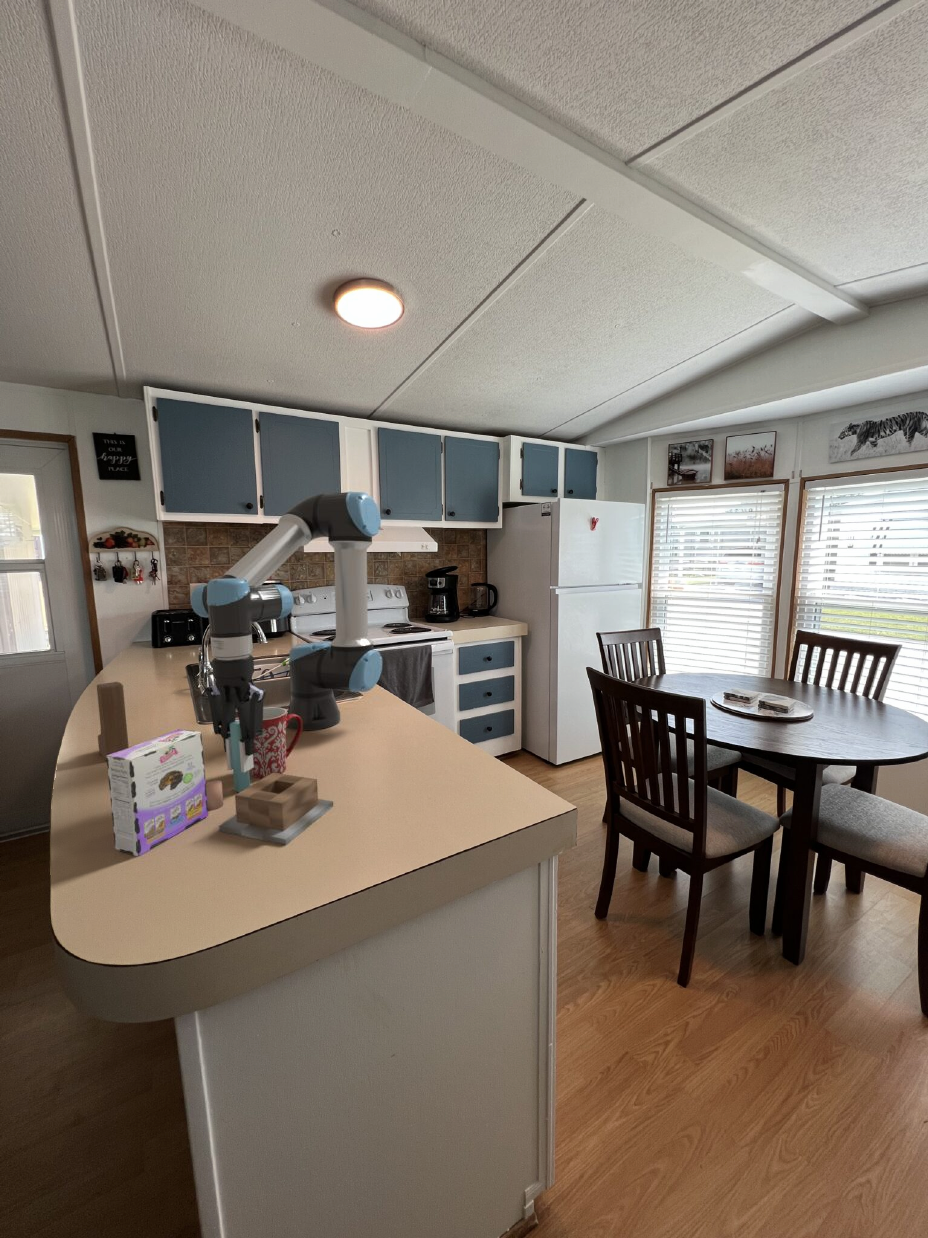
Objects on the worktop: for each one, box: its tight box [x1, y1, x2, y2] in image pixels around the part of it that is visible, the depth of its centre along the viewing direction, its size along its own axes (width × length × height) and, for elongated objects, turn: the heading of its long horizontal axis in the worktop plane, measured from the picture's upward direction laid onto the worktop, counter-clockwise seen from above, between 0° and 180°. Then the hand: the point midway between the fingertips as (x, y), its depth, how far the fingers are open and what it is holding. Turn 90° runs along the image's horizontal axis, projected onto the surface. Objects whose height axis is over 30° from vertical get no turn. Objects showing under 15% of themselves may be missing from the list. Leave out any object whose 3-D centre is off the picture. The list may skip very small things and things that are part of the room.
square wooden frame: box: [218, 773, 334, 846], centre depth 93 cm, size 14×14×6 cm
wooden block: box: [96, 681, 129, 761], centre depth 124 cm, size 9×4×18 cm, turn 46°
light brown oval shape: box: [205, 780, 224, 811], centre depth 98 cm, size 3×3×4 cm
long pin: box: [230, 720, 251, 793], centre depth 105 cm, size 3×3×14 cm
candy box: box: [106, 728, 209, 857], centre depth 88 cm, size 14×6×16 cm, turn 159°
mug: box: [250, 706, 303, 779], centre depth 115 cm, size 13×9×14 cm
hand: (240, 768), depth 105 cm, fingers closed on long pin, 3 cm apart
